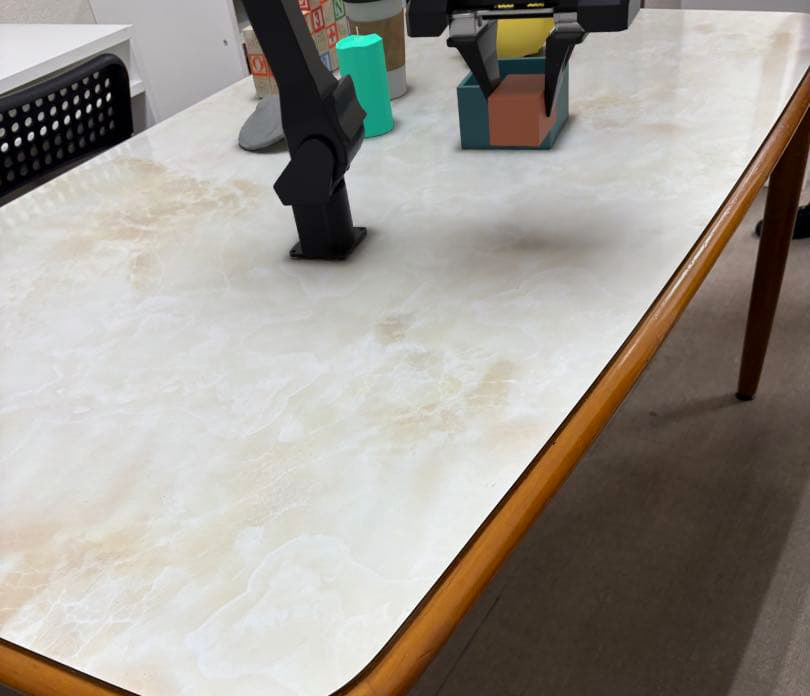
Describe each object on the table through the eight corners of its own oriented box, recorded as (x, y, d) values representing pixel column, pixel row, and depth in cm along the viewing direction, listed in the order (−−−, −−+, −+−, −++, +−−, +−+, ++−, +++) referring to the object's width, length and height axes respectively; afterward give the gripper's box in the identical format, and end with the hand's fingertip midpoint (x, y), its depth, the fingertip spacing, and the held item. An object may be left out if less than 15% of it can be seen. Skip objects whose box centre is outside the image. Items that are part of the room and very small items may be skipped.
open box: (549, 85, 96) (568, 55, 102) (456, 87, 99) (480, 58, 106) (550, 149, 101) (568, 117, 107) (461, 149, 104) (484, 118, 111)
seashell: (321, 117, 119) (251, 111, 120) (316, 76, 114) (244, 71, 115) (299, 165, 112) (226, 158, 114) (294, 123, 108) (218, 117, 109)
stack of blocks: (291, 100, 126) (271, 5, 117) (256, 99, 128) (234, 5, 120) (362, 52, 138) (349, -37, 130) (329, 52, 141) (314, -36, 132)
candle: (389, 135, 110) (374, 32, 102) (344, 138, 112) (327, 36, 103) (398, 118, 115) (385, 17, 106) (355, 121, 116) (339, 21, 108)
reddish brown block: (539, 146, 75) (538, 98, 72) (490, 145, 77) (487, 98, 74) (556, 120, 79) (556, 73, 76) (509, 120, 81) (507, 74, 78)
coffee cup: (424, 93, 120) (411, -32, 110) (368, 108, 119) (350, -17, 108) (402, 79, 126) (388, -41, 116) (349, 93, 125) (329, -27, 114)
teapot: (478, 36, 136) (473, -47, 128) (587, 36, 129) (589, -52, 121) (424, 80, 124) (414, -8, 117) (540, 82, 117) (539, -12, 109)
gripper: (660, -130, 68) (646, 83, 79) (440, -110, 74) (455, 84, 85) (632, -99, 61) (621, 130, 72) (391, -80, 67) (415, 127, 78)
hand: (523, 115), depth 77 cm, fingers closed on reddish brown block, 4 cm apart
